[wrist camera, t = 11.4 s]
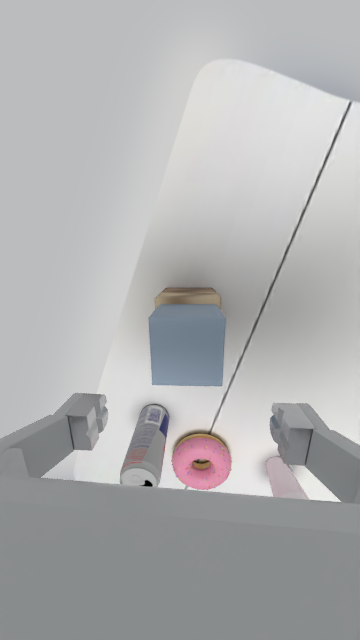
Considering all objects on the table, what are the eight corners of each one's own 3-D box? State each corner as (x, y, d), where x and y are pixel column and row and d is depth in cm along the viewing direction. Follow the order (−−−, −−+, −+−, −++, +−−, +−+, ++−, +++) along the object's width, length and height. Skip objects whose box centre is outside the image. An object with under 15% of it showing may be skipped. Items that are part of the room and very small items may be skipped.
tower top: (215, 291, 26) (220, 297, 21) (214, 342, 28) (218, 358, 23) (161, 292, 26) (154, 298, 22) (163, 342, 28) (157, 358, 23)
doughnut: (219, 479, 41) (222, 502, 37) (166, 466, 41) (164, 487, 37) (237, 436, 38) (242, 457, 34) (180, 422, 38) (179, 441, 34)
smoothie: (281, 481, 40) (327, 592, 26) (252, 469, 39) (284, 575, 26) (299, 458, 38) (359, 564, 25) (269, 446, 38) (313, 546, 24)
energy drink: (158, 432, 38) (143, 504, 27) (135, 417, 38) (110, 484, 26) (175, 414, 37) (167, 481, 25) (151, 398, 36) (133, 459, 25)
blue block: (216, 303, 21) (225, 318, 16) (214, 356, 23) (222, 386, 17) (159, 304, 22) (148, 318, 16) (161, 355, 23) (152, 384, 18)
